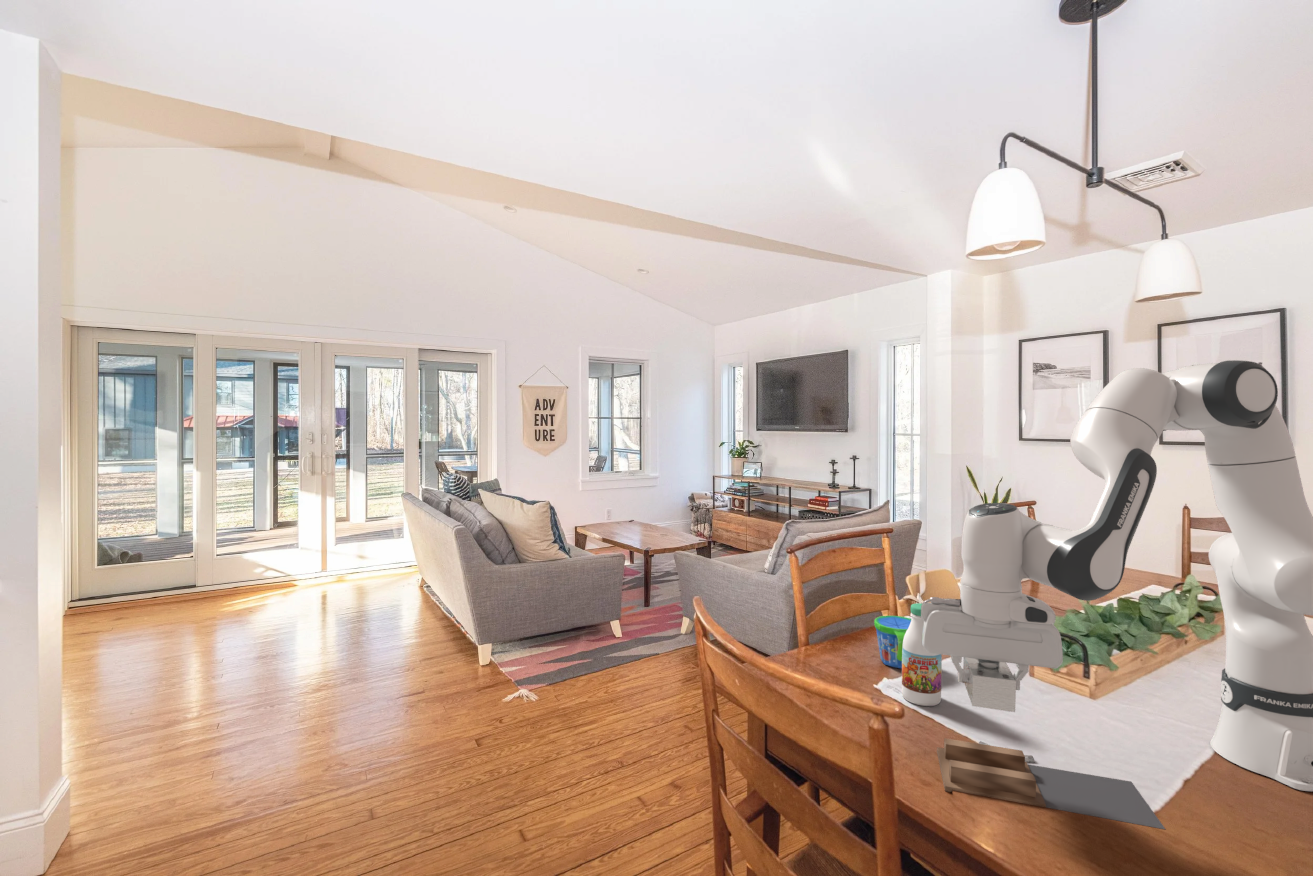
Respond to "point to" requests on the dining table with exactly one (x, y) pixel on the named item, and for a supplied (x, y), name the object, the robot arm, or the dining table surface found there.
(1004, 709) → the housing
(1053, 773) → the bench mat
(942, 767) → the stand
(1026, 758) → the pin
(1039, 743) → the dining table surface
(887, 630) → the snack cup
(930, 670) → the milk bottle
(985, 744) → the pin
